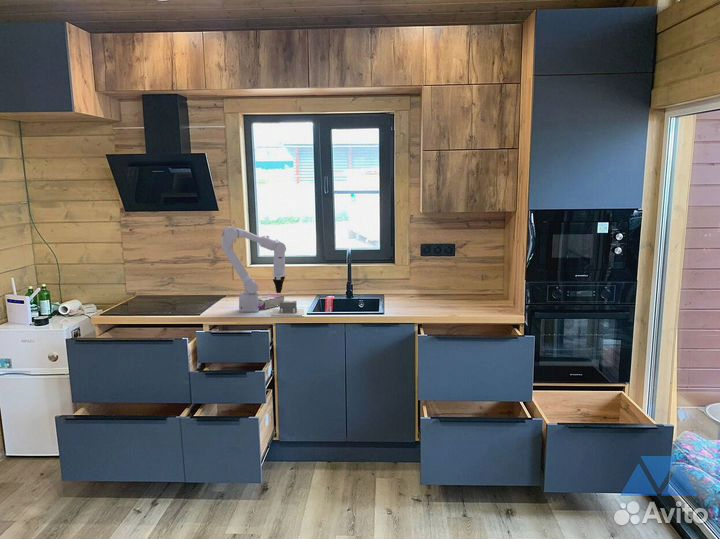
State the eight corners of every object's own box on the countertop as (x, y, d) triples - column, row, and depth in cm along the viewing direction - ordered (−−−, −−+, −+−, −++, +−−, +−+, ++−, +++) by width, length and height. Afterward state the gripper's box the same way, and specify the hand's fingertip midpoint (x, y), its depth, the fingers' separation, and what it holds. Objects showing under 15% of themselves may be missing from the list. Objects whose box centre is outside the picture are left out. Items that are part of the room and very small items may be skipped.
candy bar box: (268, 302, 298) (247, 307, 284) (268, 293, 297) (247, 297, 283) (284, 305, 292) (264, 309, 278) (284, 296, 292) (264, 300, 278)
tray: (270, 316, 264) (270, 309, 264) (272, 310, 278) (272, 304, 277) (303, 316, 265) (304, 309, 265) (304, 310, 279) (304, 304, 279)
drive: (279, 312, 269) (279, 302, 268) (280, 310, 273) (280, 300, 273) (296, 312, 270) (296, 302, 269) (296, 310, 274) (296, 300, 273)
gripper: (286, 267, 270) (286, 294, 272) (287, 263, 285) (287, 289, 286) (272, 267, 270) (272, 294, 271) (274, 263, 284) (274, 289, 286)
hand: (279, 291), depth 279 cm, fingers open, 7 cm apart
